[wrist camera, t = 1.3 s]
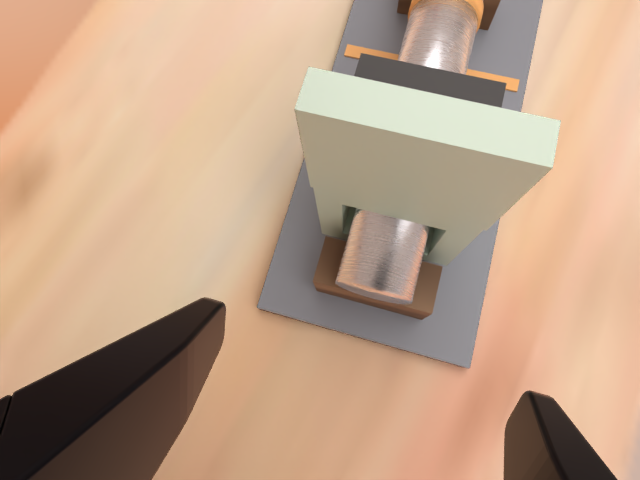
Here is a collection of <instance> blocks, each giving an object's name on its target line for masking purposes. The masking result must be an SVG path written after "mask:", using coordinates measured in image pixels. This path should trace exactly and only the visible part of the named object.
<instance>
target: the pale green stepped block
mask: <svg viewBox="0 0 640 480" xmlns="http://www.w3.org/2000/svg"><path fill="white" fill-rule="evenodd" d="M295 114H296V119H297V124H298V129H299V134H300V138H301V143H302V148H303V153H304V158H305V163H306V168H307V173H308V177H309V182H310V187H313V189H314V194H315V199H316V205H317V210H318V215H319V221H320V226H321V231H322V234H325V235H329V236H333V237H337V238H341V239H344V240H347V239H348V235H349V231H350V228H351V224H352V221H353V217H354V214H355V210H356V208H358V209H362V210H366V211H370V212H374V213H378V214H382V215H386V216H390V217H394V218H398V219H402V220H406V221H410V222H414V223H418V224H422V225H426V226H430V229H429V233H428V237H427V242H426V246H425V250H424V254H423V259H422V260H425V261H429V262H433V263H437V264H441V265H444V266H447V265H448V264H449V263H450V262H451V261H452V260H453V259H454V258H455V257H456V256H457V255H458V254H459V253H460V252H461V251H462V250H463V249H464V248H465V247H466V246H467V245H468V244H470V243H471V242H472V241H473V240H474V239H475V238H476V237H477V236H478V235H479V234H480V233H481V232H482V231H483V230H486V231H487V230H488V229H489V228H490V227H491V226H492V225H493V224H494V223H495V222H496V221H497V220H498V219H499V218H500V217H501V216H502V215H504V214H505V213H506V212H507V211H508V210H509V209H510V208H511V207H512V206H513V205H514V204H515V203H516V202H517V201H518V200H519V199H520V198H521V197H522V196H524V195H525V194H526V193H527V192H528V191H529V190H530V189H531V188H532V187H533V186H534V185H535V184H536V183H537V182H538V181H539V180H540V179H541V178H543V177H544V176H545V175H546V174H547V173H548V172H549V171H550V170H551V169H552V168H553V163H554V157H555V151H556V146H557V140H558V134H559V129H560V123H561V121H560V120H556V119H551V118H546V117H542V116H537V115H532V114H528V113H523V112H518V111H514V110H509V109H504V108H500V107H495V106H490V105H486V104H481V103H476V102H472V101H467V100H462V99H458V98H453V97H448V96H444V95H439V94H434V93H430V92H425V91H420V90H416V89H411V88H406V87H402V86H397V85H392V84H388V83H383V82H379V81H374V80H369V79H365V78H360V77H355V76H351V75H346V74H341V73H337V72H332V71H327V70H323V69H318V68H313V67H308V70H307V73H306V76H305V79H304V82H303V85H302V88H301V91H300V94H299V97H298V100H297V103H296V106H295Z"/></svg>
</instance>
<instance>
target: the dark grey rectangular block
mask: <svg viewBox="0 0 640 480" xmlns="http://www.w3.org/2000/svg"><path fill="white" fill-rule="evenodd" d="M354 76H355V77H360V78H365V79H369V80H374V81H379V82H383V83H388V84H392V85H397V86H402V87H406V88H411V89H416V90H420V91H425V92H430V93H434V94H439V95H444V96H448V97H453V98H458V99H462V100H467V101H472V102H476V103H481V104H486V105H490V106H495V107H500V108H502V103H503V98H504V93H505V89H506V84H507V83H504V82H499V81H494V80H489V79H484V78H480V77H475V76H470V75H465V74H460V73H455V72H451V71H446V70H441V69H436V68H431V67H427V66H422V65H417V64H412V63H407V62H403V61H398V60H393V59H388V58H383V57H378V56H374V55H369V54H364V53H361V55H360V58H359V61H358V65H357V68H356V71H355V74H354Z"/></svg>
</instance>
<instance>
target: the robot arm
mask: <svg viewBox="0 0 640 480" xmlns="http://www.w3.org/2000/svg"><path fill="white" fill-rule="evenodd" d="M225 315H226V307H225V304H224V303H223V302H221V301H217V300H214V299H210V298H201V299H199V300H197V301H195V302H193V303H191V304H189V305H187V306H185V307H183V308H181V309H179V310H177V311H175V312H173V313H171V314H169V315H167V316H165V317H163V318H161V319H159V320H157V321H155V322H153V323H151V324H149V325H147V326H145V327H143V328H141V329H139V330H137V331H135V332H133V333H131V334H129V335H127V336H125V337H123V338H121V339H119V340H117V341H115V342H113V343H111V344H109V345H107V346H105V347H103V348H101V349H99V350H97V351H95V352H93V353H91V354H89V355H87V356H85V357H83V358H81V359H79V360H77V361H75V362H73V363H71V364H69V365H67V366H65V367H63V368H61V369H59V370H57V371H55V372H53V373H51V374H49V375H47V376H45V377H43V378H41V379H39V380H37V381H35V382H33V383H31V384H29V385H27V386H25V387H23V388H21V389H19V390H17V391H15V392H14V393H13V395H12V396H10V395H7V396H5V397H3V398H1V399H0V480H152V478H153V477H154V475H155V473H156V472H157V470H158V468H159V467H160V465H161V463H162V462H163V460H164V458H165V457H166V455H167V453H168V452H169V450H170V448H171V447H172V445H173V444H174V442H175V440H176V439H177V437H178V435H179V434H180V432H181V430H182V428H183V427H184V425H185V423H186V421H187V419H188V417H189V415H190V413H191V411H192V409H193V407H194V405H195V403H196V401H197V398H198V396H199V394H200V392H201V390H202V388H203V385H204V383H205V381H206V379H207V377H208V375H209V372H210V370H211V368H212V366H213V364H214V362H215V359H216V357H217V355H218V353H219V351H220V349H221V346H222V343H223V339H224V331H225ZM504 480H617V478H616V477H615V476H614V475H613V473H612V472H611V471H610V470H609V468H608V467H607V466H606V464H605V463H604V462H603V461H602V459H601V458H600V457H599V456H598V454H597V453H596V452H595V450H594V449H593V448H592V447H591V445H590V444H589V443H588V442H587V440H586V439H585V438H584V436H583V435H582V434H581V433H580V431H579V430H578V429H577V428H576V426H575V425H574V424H573V422H572V421H571V420H570V419H569V417H568V416H567V415H566V414H565V412H564V411H563V410H562V408H561V407H560V406H559V405H558V403H557V402H556V401H555V400H554V399H553V398H552V397H550V396H548V395H544V394H541V393H537V392H534V391H526V392H525V393H524V394H523V395H522V396H521V398H520V400H519V401H518V403H517V405H516V407H515V408H514V410H513V412H512V414H511V415H510V417H509V419H508V421H507V424H506V428H505V439H504Z"/></svg>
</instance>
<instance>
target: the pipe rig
mask: <svg viewBox="0 0 640 480" xmlns="http://www.w3.org/2000/svg"><path fill="white" fill-rule="evenodd" d="M542 3H543V0H354V2H353V6H352V9H351V12H350V15H349V18H348V21H347V25H346V28H345V31H344V34H343V37H342V40H341V43H340V47H339V50H338V53H337V56H336V59H335V62H334V66H333V69H332V72H337V73H341V74H346V75H351V76H354V74H355V71H356V68H357V65H358V61H359V58H360V55H361V53H364V54H369V55H374V56H378V57H383V58H388V59H393V60H398V61H403V62H407V63H412V64H417V65H422V66H427V67H431V68H436V69H441V70H446V71H451V72H455V73H460V74H465V75H470V76H475V77H480V78H484V79H489V80H494V81H499V82H504V83H507V84H506V89H505V93H504V98H503V103H502V108H504V109H509V110H514V111H518V112H521V109H522V104H523V99H524V94H525V88H526V83H527V78H528V73H529V68H530V63H531V58H532V53H533V48H534V43H535V38H536V33H537V28H538V23H539V18H540V13H541V8H542ZM499 219H500V218H499ZM499 219H498V220H497V221H496V222H495V223H494V224H493V225H492V226H491V227H490V228H489V229H488V230H487V231H486V230H483V231H482V232H481V233H480V234H479V235H478V236H477V237H476V238H475V239H474V240H473V241H472V242H471V243H470V244H468V245H467V246H466V247H465V248H464V249H463V250H462V251H461V252H460V253H459V254H458V255H457V256H456V257H455V258H454V259H453V260H452V261H451V262H450V263H449V264H448V265H447V266H444V265H441V264H437V263H433V262H429V261H425V260H422V259H423V254H424V250H425V246H426V242H427V237H428V233H429V229H430V226H426V225H422V224H418V223H414V222H410V221H406V220H402V219H398V218H394V217H390V216H386V215H382V214H378V213H374V212H370V211H366V210H362V209H358V208H356V210H355V214H354V217H353V221H352V224H351V228H350V231H349V235H348V239H347V240H344V239H341V238H337V237H333V236H329V235H325V234H322V231H321V226H320V221H319V215H318V210H317V205H316V199H315V194H314V189H313V187H310V182H309V177H308V173H307V168H306V163H305V158H304V160H303V163H302V166H301V170H300V173H299V176H298V179H297V182H296V185H295V189H294V192H293V195H292V198H291V201H290V204H289V208H288V211H287V214H286V217H285V220H284V223H283V226H282V230H281V233H280V236H279V239H278V242H277V245H276V249H275V252H274V255H273V258H272V261H271V264H270V267H269V271H268V274H267V277H266V280H265V283H264V286H263V290H262V293H261V296H260V299H259V302H258V305H257V308H258V309H261V310H265V311H268V312H272V313H275V314H279V315H282V316H286V317H289V318H293V319H296V320H300V321H303V322H307V323H310V324H314V325H317V326H321V327H324V328H328V329H331V330H335V331H338V332H342V333H345V334H349V335H352V336H356V337H359V338H363V339H366V340H370V341H373V342H377V343H380V344H384V345H387V346H391V347H394V348H398V349H401V350H405V351H408V352H411V353H415V354H418V355H422V356H425V357H429V358H432V359H436V360H439V361H443V362H446V363H450V364H453V365H457V366H460V367H464V368H470V365H471V360H472V355H473V350H474V345H475V340H476V335H477V330H478V325H479V320H480V315H481V310H482V305H483V300H484V295H485V290H486V285H487V280H488V275H489V270H490V264H491V259H492V254H493V249H494V244H495V239H496V234H497V229H498V224H499Z"/></svg>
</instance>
